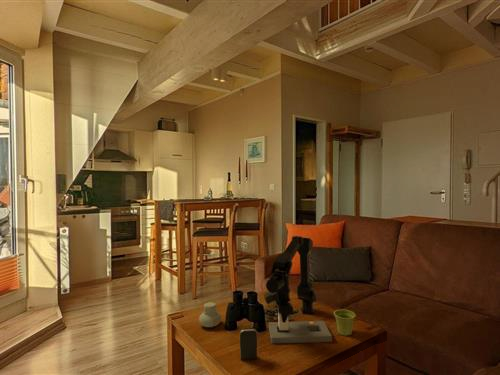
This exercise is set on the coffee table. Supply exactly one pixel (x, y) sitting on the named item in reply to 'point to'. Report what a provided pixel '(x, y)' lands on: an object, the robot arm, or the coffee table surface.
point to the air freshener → (210, 315)
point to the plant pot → (344, 321)
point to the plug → (280, 323)
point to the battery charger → (248, 343)
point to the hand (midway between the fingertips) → (283, 320)
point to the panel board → (300, 332)
